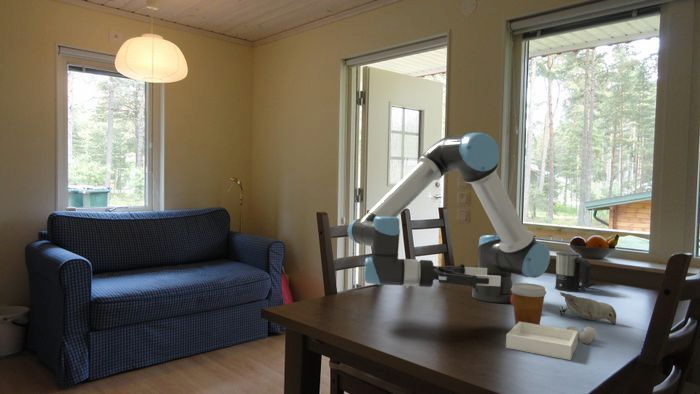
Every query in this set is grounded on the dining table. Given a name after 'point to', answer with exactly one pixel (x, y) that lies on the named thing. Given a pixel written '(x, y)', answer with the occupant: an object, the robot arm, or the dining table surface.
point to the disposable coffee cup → (528, 302)
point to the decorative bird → (589, 308)
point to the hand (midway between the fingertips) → (493, 276)
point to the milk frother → (572, 272)
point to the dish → (542, 340)
